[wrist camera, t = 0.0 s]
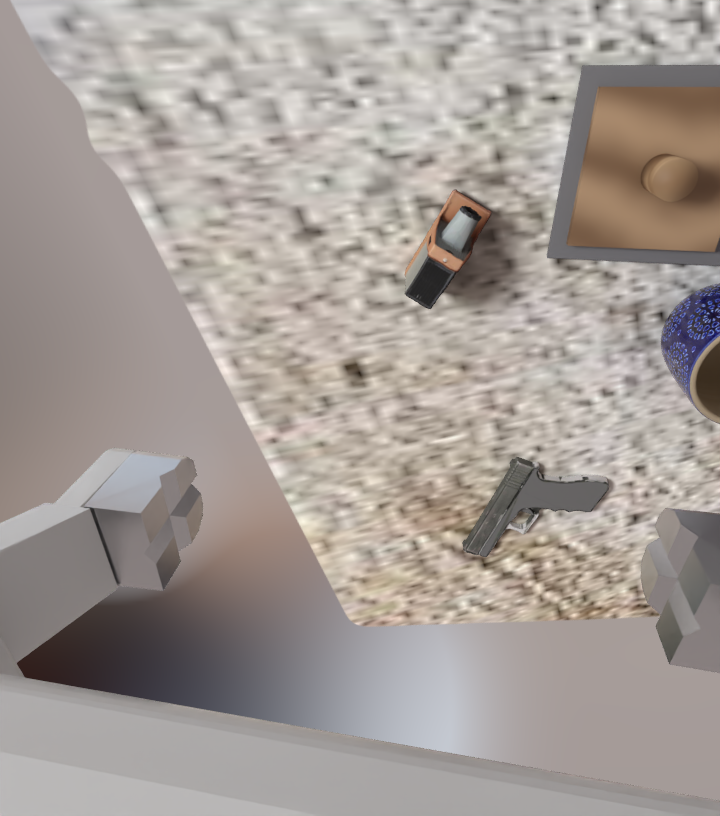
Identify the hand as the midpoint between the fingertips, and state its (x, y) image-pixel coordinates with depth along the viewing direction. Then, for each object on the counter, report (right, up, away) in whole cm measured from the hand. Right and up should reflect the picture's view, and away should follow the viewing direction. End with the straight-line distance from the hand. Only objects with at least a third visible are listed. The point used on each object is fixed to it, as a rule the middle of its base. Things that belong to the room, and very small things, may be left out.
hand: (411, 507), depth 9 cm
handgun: (+22, -12, +61) cm, 66 cm away
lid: (+26, +23, +38) cm, 51 cm away
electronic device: (+8, +19, +44) cm, 49 cm away
